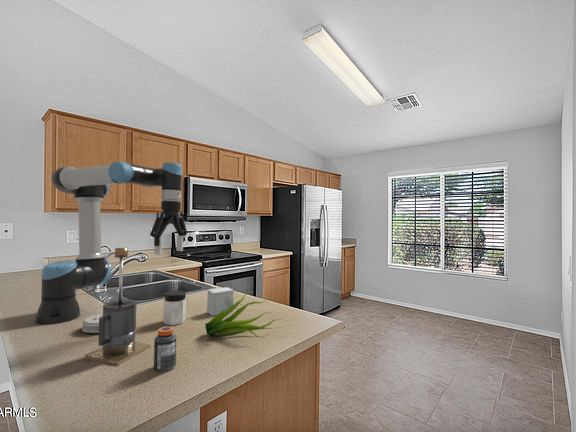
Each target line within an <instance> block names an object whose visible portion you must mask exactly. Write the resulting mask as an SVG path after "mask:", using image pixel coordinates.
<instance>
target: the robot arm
mask: <svg viewBox="0 0 576 432" xmlns="http://www.w3.org/2000/svg"><path fill="white" fill-rule="evenodd" d="M50 178H51V184H52V185H53V187H54V188H55V189H57V190H58V191H59V192H62V193H65V194H71V195H74V197H73V198H74V200H75V201H76V202H77V203H78V247H79V248H78V249H79V250H78V251H79V252H78V256H76V257H75V258H74V259H75V260H61V261H56V262H51V263H48V264H47V265H45V266H44V267H42V272H41V297H40V298H41V301H40V304H39V307H38V309H37V312H36V314H35V316H34V317H35V319H34V321H35V323H36V324H40V325H41V324H42V325H48V324H49V325H50V324H60V323H64V322H69V321H71V320H75V319H77V318H79V317H80V316H81V308H80V304H79V302H78V300H77V290H81V289H85V288H91V287H97V286H99V285H103V284H105V283H107V281H109V279H110V277H111V274H112V265H111V263H110V262H109V260H108V259H106V256H105V255H104V254H103V253H102V229H101V228H102V226H101V225H102V223H101V221H102V220H101V215H102V214H101V203H102V201H104V200H105V196H107V195H108V193H109V191H110V185H117V184H119V185H120V184H121V185H122V184H134V185H138V186H139V185H140V186H142V187H148V188H152V187H161V197H160V198H161V203H160V209H161V211H162V212H160V211H158V212H156V217H155V220H154V223H153V226H152V229H151V231H150V233H149V236H150V237H152V238H154V240H153V243H154V244H153V246H154V254H153V255H158V256H159V255H160V256H162V253H163V251H162V249H163V237H162V235H163V234H164V231H165V230H166V229H167V226H168V225H171V224H172V225H173V227H174V230H175V231H176V233H177V235H176V244H175V245H176V246H175V248H176V249H175V250H176V251H177V252H183V251H184V237H186V236H187V234H188V230H187V226H186V223H185V219H184V213H183V212H179V211H181V209H182V208H181V207H182V203H181V201H182V183H183V182H182V181H183V168H182V165H181V164H180V163H176V162H168V161H167V162H163V163H162V166H161V167H160V168H159V167H158V168H156V167H155V168H152V167H148V166H142V165H139V164H133V163H129V162H125V161H118V160H117V161H113V162H112V163H111V164H105V165H97V166H87V167H86V166H85V167H78V168H77V167H75V166H62V167H58V168H57V169H55V170H54V171H53V172H52V174H51V177H50Z"/></svg>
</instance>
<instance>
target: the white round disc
mask: <svg viewBox="0 0 576 432" xmlns="http://www.w3.org/2000/svg"><path fill="white" fill-rule="evenodd" d="M102 317H103V313H102V314H94V315H91V316H89V317H87V318H85V320H83V321H82V322H81V323H82V329H81V331H82V332H84V333H86V334H87V333H89V334H99V318H102Z"/></svg>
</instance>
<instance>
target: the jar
mask: <svg viewBox="0 0 576 432" xmlns="http://www.w3.org/2000/svg"><path fill="white" fill-rule="evenodd" d="M162 319H163V324H164V325H168V326H175V325H181V324H184V322H185V321H186V320H187V297H186V291H184V290H172V291H167V292H165V293H164V300H163V317H162Z"/></svg>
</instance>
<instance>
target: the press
mask: <svg viewBox="0 0 576 432" xmlns="http://www.w3.org/2000/svg"><path fill="white" fill-rule="evenodd" d="M118 301H119V299H118V300H114V301H109V302H106V303H104V304H103V305H102V314H103V317H102V318H99V333H98V343H97V344H98V346H99V347H100V348H97V349H95V350H92V351H90V352H88V353H86V354H84V359H85V360H90V361H91V360H92V361H96V362H101V363H106V364H109V365H110V364H111V365H115V366H119V365H121V364H123V363H125V362H126V361H128V360H130V359H132V358H134V357H136V356H138V355H140V354H141V353H143V352H145V351H147V350H148V349H150V348H151V344H150V343H144V342H139V341H136V329H137V301H136V300H133V299H122V304H121V305H118Z"/></svg>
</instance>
